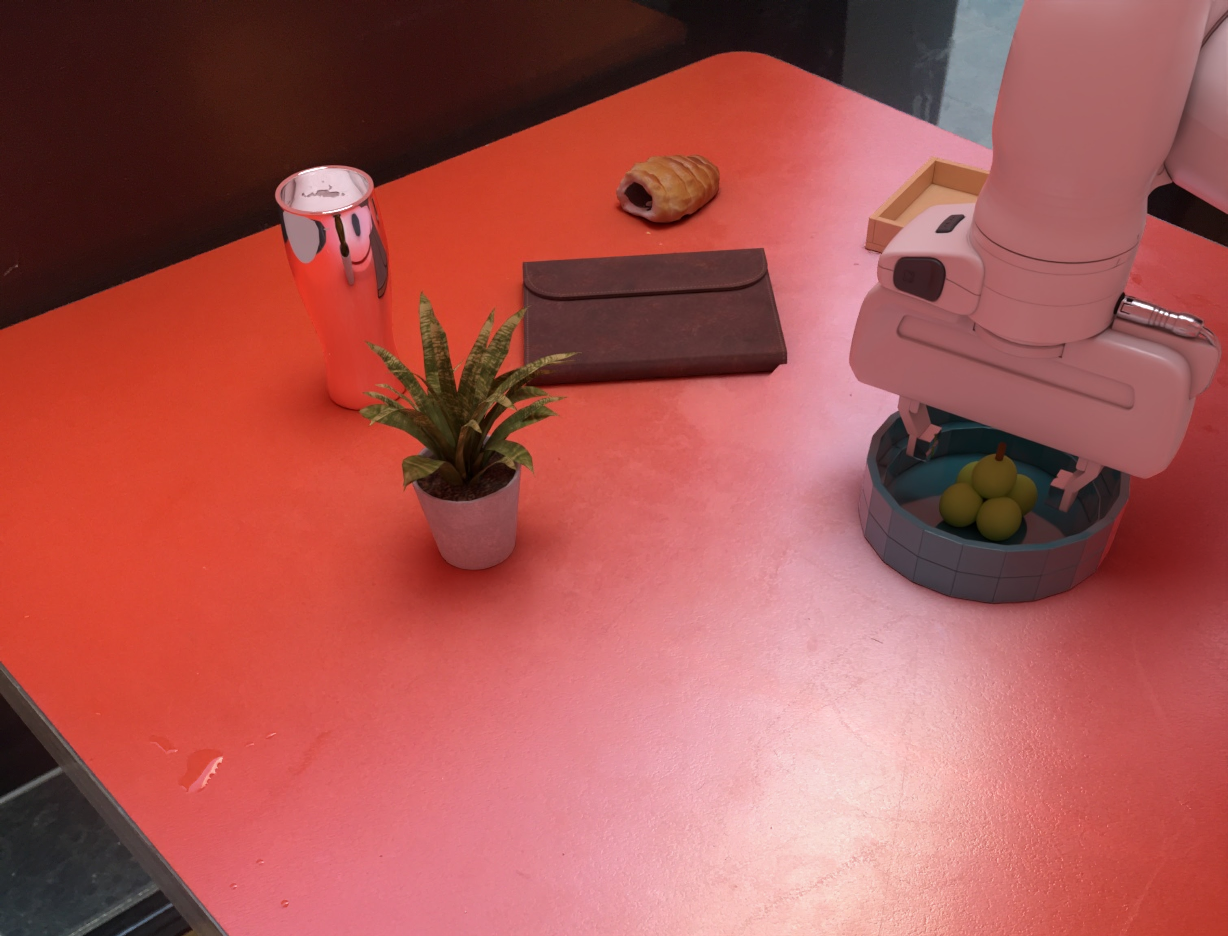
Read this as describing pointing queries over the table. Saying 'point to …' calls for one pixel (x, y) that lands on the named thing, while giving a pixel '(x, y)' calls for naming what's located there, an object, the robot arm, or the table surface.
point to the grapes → (989, 496)
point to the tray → (924, 197)
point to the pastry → (668, 187)
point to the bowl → (961, 556)
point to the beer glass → (342, 276)
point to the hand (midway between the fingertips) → (988, 478)
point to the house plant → (466, 438)
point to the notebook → (652, 316)
